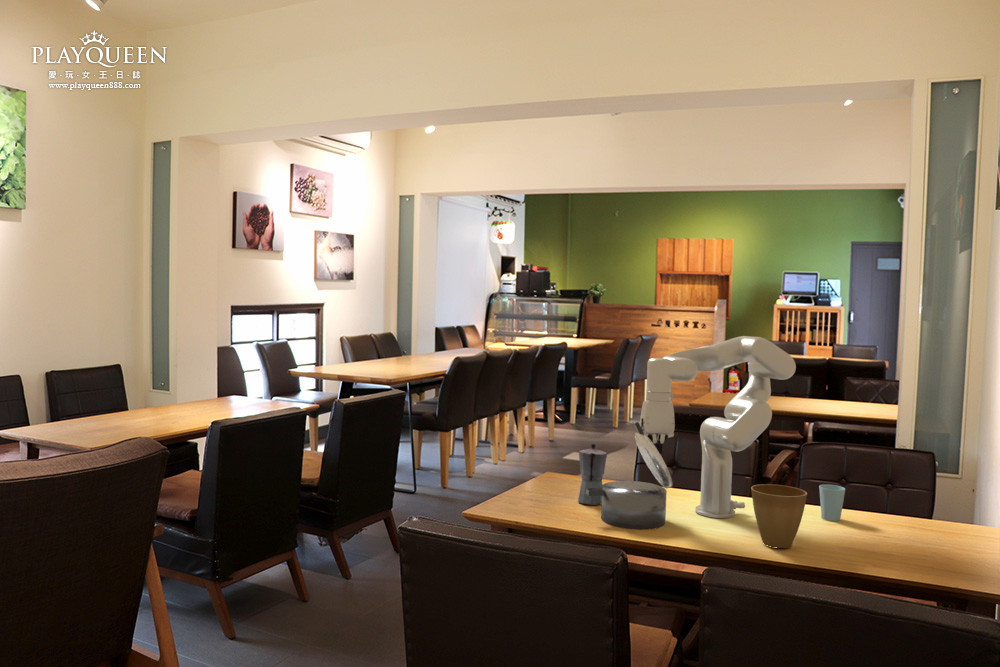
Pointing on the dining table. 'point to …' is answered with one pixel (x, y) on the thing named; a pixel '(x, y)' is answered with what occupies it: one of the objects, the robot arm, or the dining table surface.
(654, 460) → the cooker lid
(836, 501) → the cup
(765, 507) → the plant pot
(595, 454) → the moka pot
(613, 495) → the cooker pot
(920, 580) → the dining table surface
